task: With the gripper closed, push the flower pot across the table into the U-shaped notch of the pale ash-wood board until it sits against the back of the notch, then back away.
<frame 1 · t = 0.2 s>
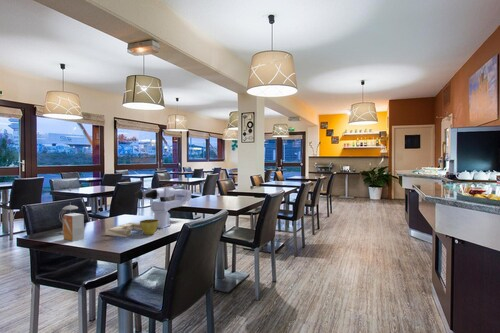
hand: (140, 195, 174), 21 cm above the table, tool horizontal, fingers open, 7 cm apart
notched board: (128, 231, 180), on the table
flower pot: (149, 234, 175), on the table
small box: (73, 239, 164), on the table
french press: (69, 232, 180), on the table
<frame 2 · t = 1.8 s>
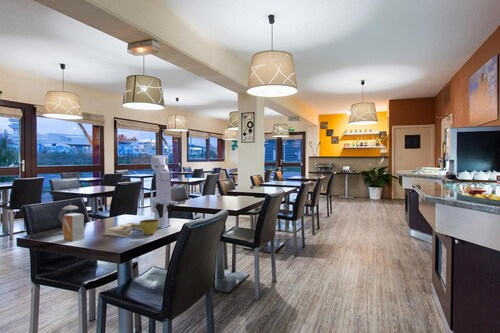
hand: (165, 218, 171), 9 cm above the table, tool pointing down, fingers open, 5 cm apart
nothing on the table moved.
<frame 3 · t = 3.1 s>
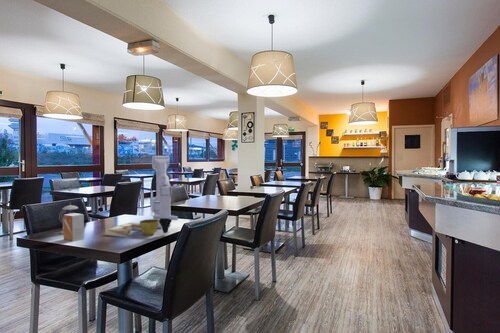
hand: (165, 232, 171), 1 cm above the table, tool pointing down, fingers closed
nothing on the table moved.
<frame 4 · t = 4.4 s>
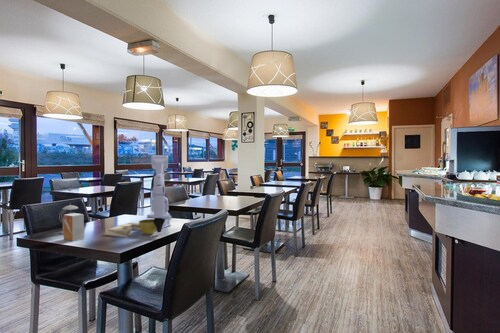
hand: (159, 231, 173), 1 cm above the table, tool pointing down, fingers closed
flower pot: (148, 233, 175), on the table, touching gripper
everything else where it was.
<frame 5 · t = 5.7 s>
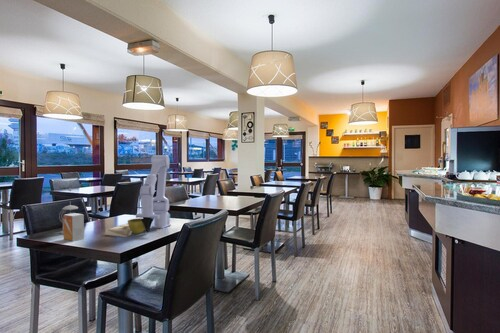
hand: (147, 231, 175), 1 cm above the table, tool pointing down, fingers closed
flower pot: (137, 233, 178), on the table, touching gripper
everything else where it was.
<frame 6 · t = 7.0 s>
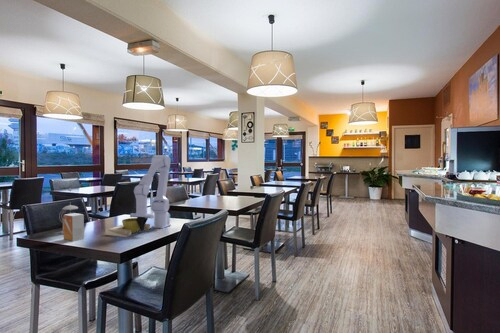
hand: (141, 230, 176), 1 cm above the table, tool pointing down, fingers closed
flower pot: (131, 232, 179), on the table, touching gripper, notched board
everything else where it was.
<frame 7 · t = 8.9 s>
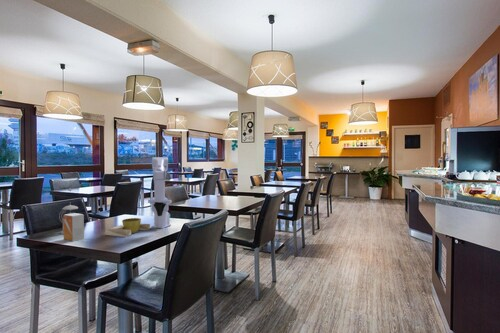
hand: (159, 215, 178), 9 cm above the table, tool pointing down, fingers closed
flower pot: (131, 232, 179), on the table
everything else where it was.
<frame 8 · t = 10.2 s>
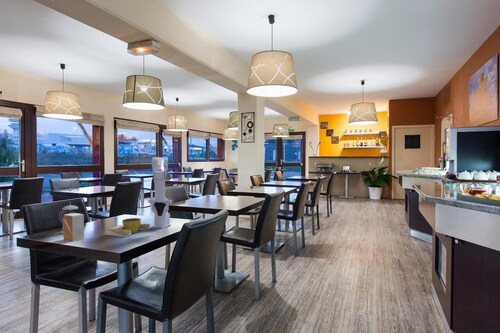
hand: (160, 215, 178), 9 cm above the table, tool pointing down, fingers closed
nothing on the table moved.
at the end: flower pot 1.2 cm from the target spot on the notched board, point 0.0 cm above the notched board's base; flower pot tilted 0° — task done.
